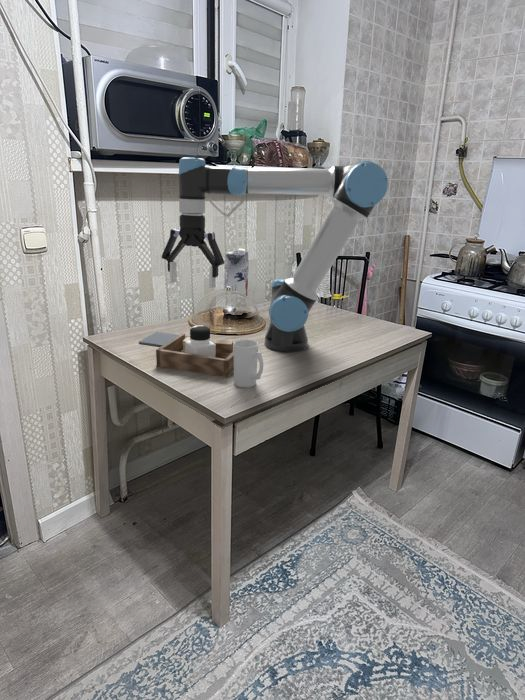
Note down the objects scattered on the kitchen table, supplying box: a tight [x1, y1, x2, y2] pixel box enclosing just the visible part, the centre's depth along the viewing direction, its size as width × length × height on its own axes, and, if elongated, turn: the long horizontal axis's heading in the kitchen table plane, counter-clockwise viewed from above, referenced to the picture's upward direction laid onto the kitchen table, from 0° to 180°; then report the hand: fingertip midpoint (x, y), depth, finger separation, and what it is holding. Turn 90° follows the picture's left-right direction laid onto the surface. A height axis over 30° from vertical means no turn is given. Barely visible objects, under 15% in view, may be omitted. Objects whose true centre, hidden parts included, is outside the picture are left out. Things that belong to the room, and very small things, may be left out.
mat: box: [138, 331, 190, 348], centre depth 166 cm, size 14×12×1 cm
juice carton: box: [223, 248, 249, 297], centre depth 197 cm, size 9×10×27 cm
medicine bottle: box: [185, 324, 216, 357], centre depth 145 cm, size 7×7×12 cm
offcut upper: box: [212, 339, 234, 353], centre depth 151 cm, size 6×3×3 cm, turn 83°
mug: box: [233, 339, 264, 389], centre depth 132 cm, size 10×7×12 cm, turn 46°
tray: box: [155, 333, 234, 378], centre depth 148 cm, size 23×17×5 cm
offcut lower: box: [216, 349, 234, 359], centre depth 152 cm, size 8×4×3 cm, turn 72°
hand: (192, 285), depth 148 cm, fingers open, 13 cm apart
